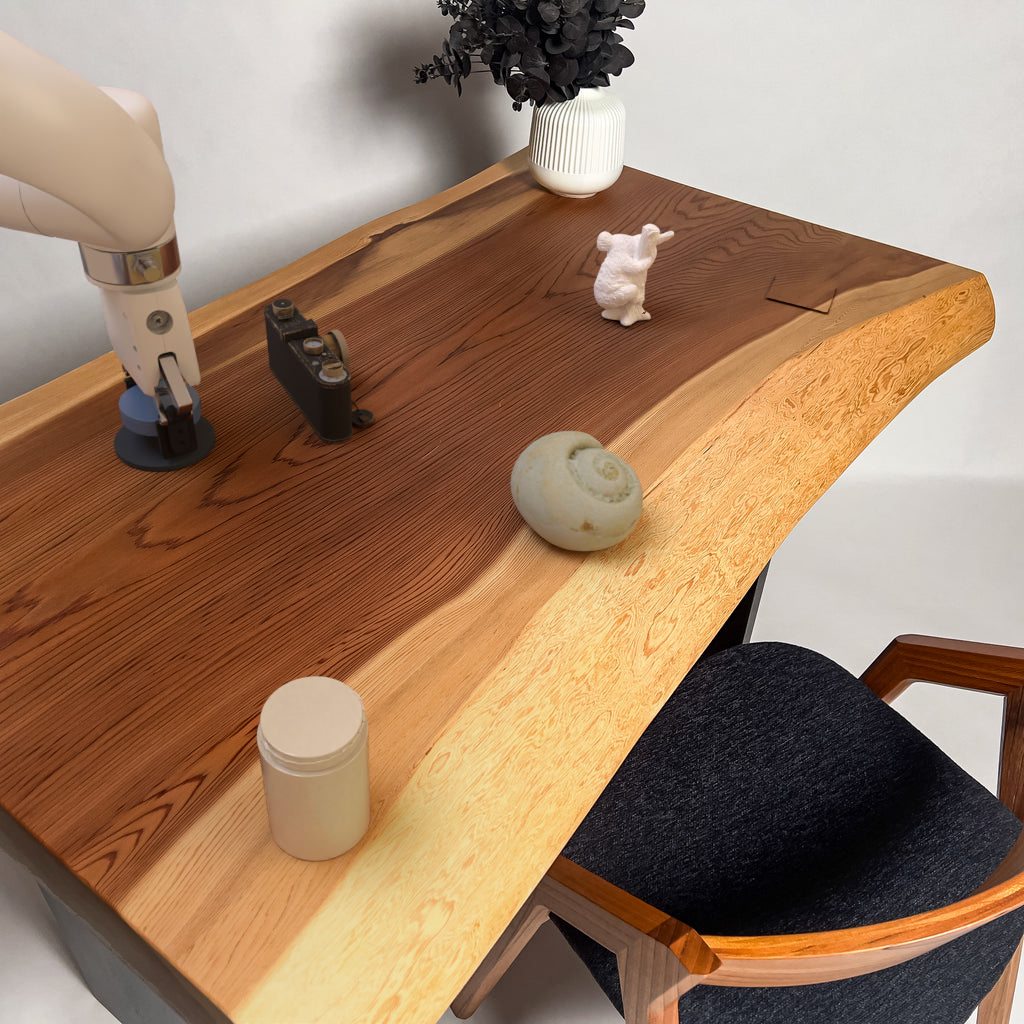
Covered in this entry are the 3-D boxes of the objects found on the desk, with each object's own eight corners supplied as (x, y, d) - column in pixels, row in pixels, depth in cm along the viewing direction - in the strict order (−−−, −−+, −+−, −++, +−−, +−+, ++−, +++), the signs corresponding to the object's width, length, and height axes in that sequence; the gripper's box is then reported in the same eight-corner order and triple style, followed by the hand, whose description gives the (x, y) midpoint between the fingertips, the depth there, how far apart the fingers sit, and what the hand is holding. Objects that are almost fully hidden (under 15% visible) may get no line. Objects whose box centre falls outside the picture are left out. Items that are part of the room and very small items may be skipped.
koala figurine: (662, 313, 117) (680, 219, 110) (649, 338, 112) (667, 242, 105) (595, 297, 119) (609, 204, 111) (580, 321, 114) (593, 225, 106)
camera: (385, 431, 94) (384, 361, 89) (321, 448, 91) (317, 377, 86) (319, 350, 105) (316, 283, 99) (260, 363, 102) (253, 295, 96)
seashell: (670, 461, 82) (597, 496, 75) (654, 539, 86) (582, 579, 79) (558, 407, 89) (482, 435, 82) (548, 482, 93) (474, 514, 86)
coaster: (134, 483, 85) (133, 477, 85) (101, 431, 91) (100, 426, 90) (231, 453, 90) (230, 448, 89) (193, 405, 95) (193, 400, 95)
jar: (297, 880, 58) (285, 781, 52) (252, 802, 62) (235, 700, 56) (388, 828, 62) (388, 729, 55) (341, 757, 65) (335, 656, 59)
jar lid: (197, 390, 92) (195, 376, 91) (206, 431, 87) (205, 416, 86) (118, 398, 90) (116, 384, 89) (124, 441, 85) (121, 426, 84)
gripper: (218, 289, 75) (241, 469, 86) (139, 205, 85) (169, 376, 96) (120, 311, 71) (158, 496, 83) (50, 220, 81) (93, 396, 93)
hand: (164, 430), depth 89 cm, fingers closed on jar lid, 7 cm apart
